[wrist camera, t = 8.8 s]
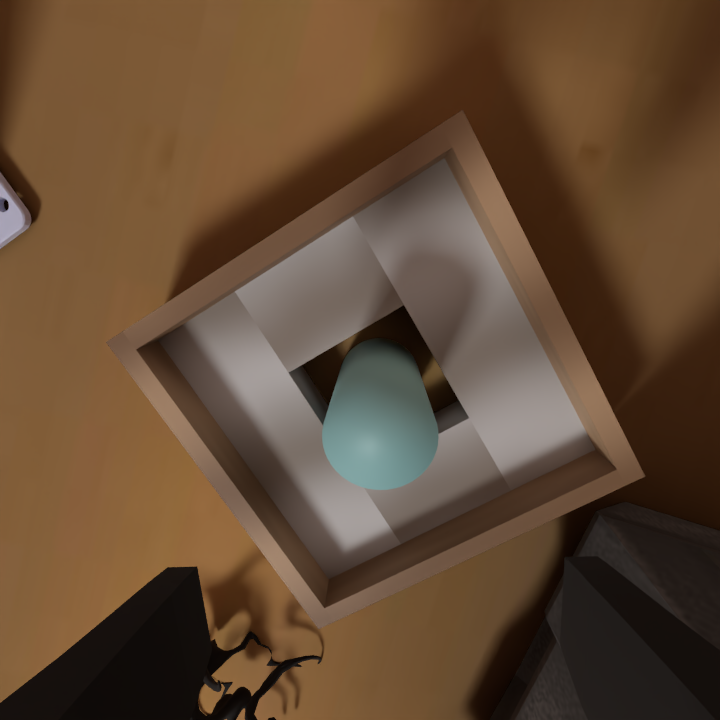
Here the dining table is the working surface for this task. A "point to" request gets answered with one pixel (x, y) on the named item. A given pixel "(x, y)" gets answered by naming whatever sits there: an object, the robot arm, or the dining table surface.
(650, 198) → the dining table surface
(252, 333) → the box
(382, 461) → the peg
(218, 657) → the creature
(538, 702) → the dark faceted flask
